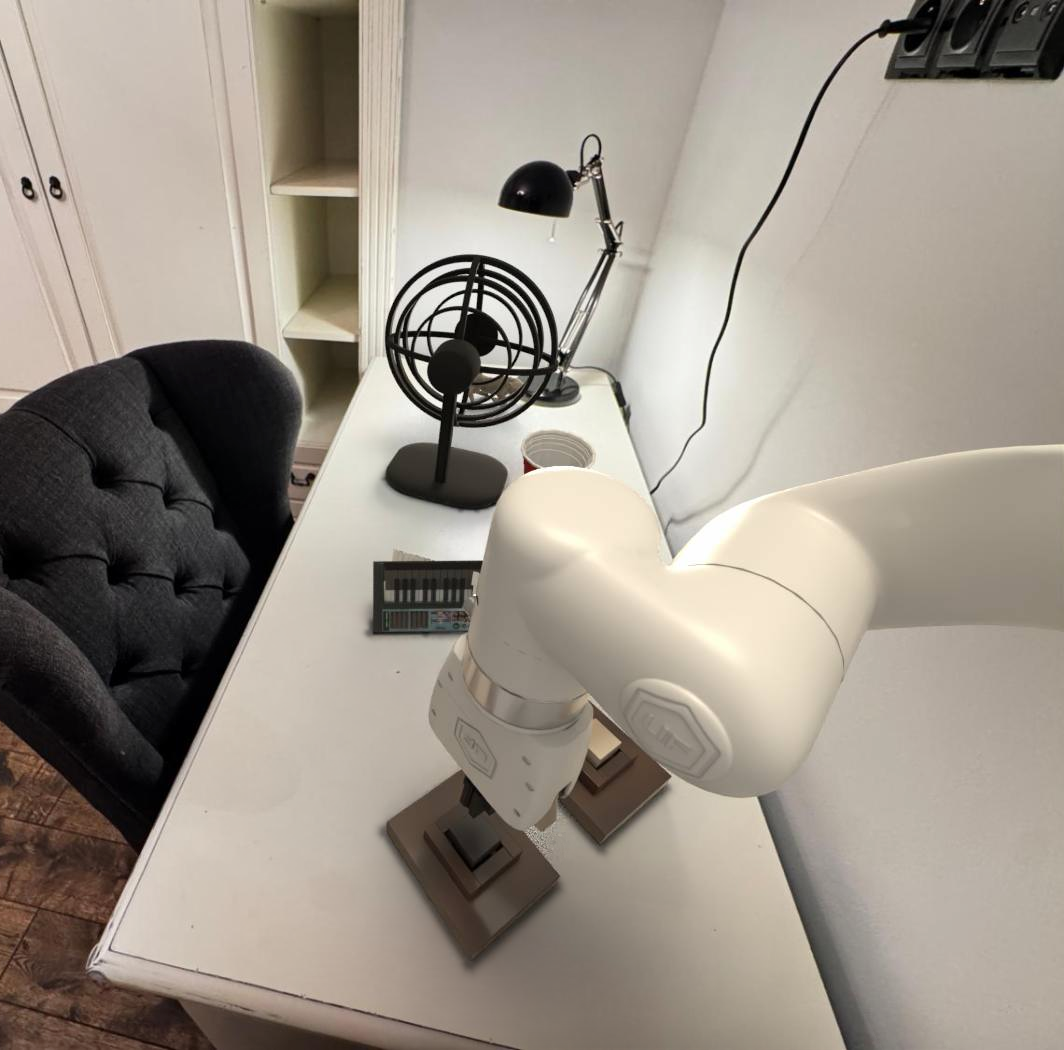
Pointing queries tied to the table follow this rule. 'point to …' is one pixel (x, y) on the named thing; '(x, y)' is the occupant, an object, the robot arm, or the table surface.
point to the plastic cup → (556, 450)
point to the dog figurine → (494, 387)
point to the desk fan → (464, 380)
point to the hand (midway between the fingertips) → (480, 799)
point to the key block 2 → (614, 785)
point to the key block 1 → (454, 888)
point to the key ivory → (601, 744)
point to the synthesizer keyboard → (422, 593)
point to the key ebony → (474, 838)
